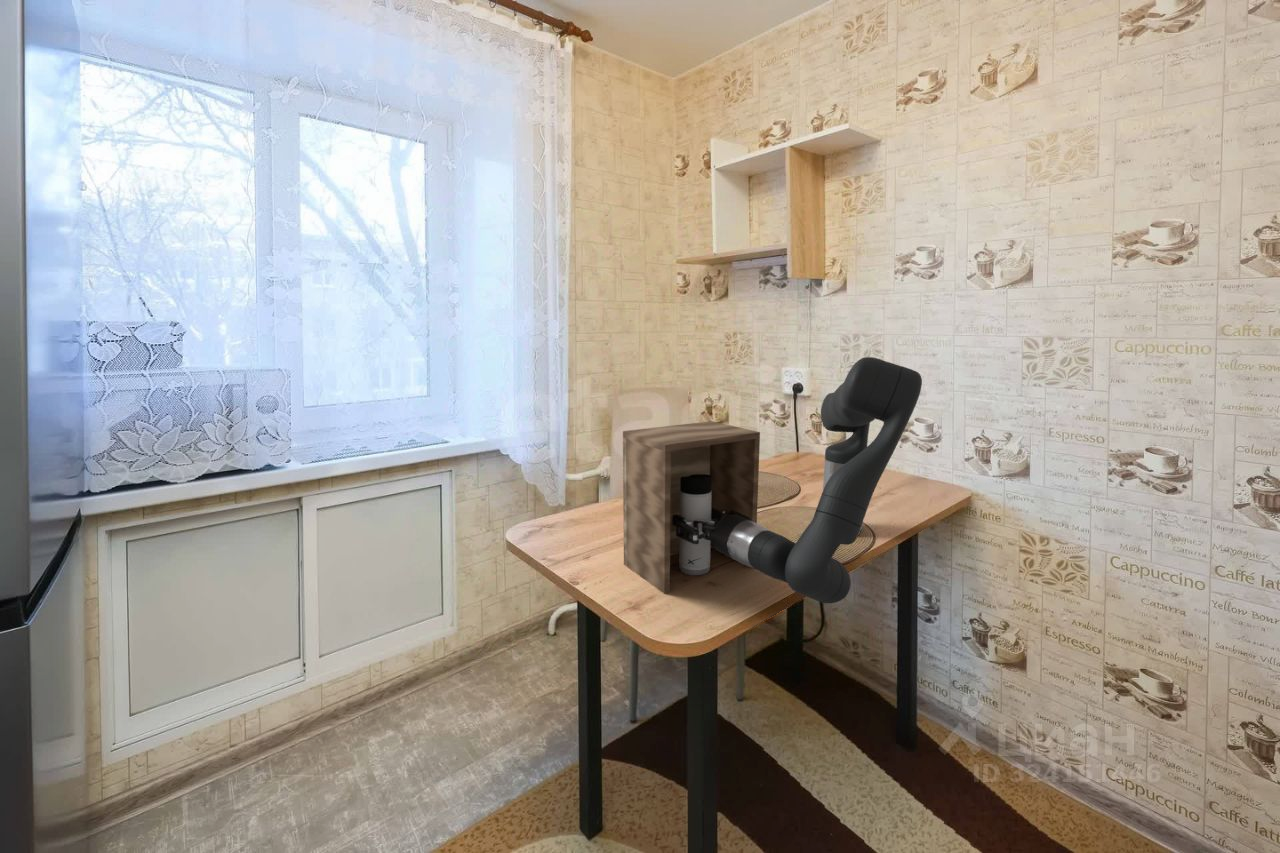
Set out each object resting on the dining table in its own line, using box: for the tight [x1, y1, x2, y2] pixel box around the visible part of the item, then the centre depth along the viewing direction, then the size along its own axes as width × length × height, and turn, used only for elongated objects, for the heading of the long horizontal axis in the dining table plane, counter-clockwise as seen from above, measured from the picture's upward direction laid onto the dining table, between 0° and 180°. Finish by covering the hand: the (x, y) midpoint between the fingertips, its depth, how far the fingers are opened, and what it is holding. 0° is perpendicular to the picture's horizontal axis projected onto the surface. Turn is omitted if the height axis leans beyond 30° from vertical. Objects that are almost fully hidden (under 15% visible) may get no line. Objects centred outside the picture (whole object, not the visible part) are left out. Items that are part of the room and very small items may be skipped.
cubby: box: [622, 420, 761, 594], centre depth 114 cm, size 15×22×28 cm
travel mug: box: [678, 474, 712, 576], centre depth 113 cm, size 6×7×20 cm
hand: (691, 515), depth 114 cm, fingers open, 8 cm apart
